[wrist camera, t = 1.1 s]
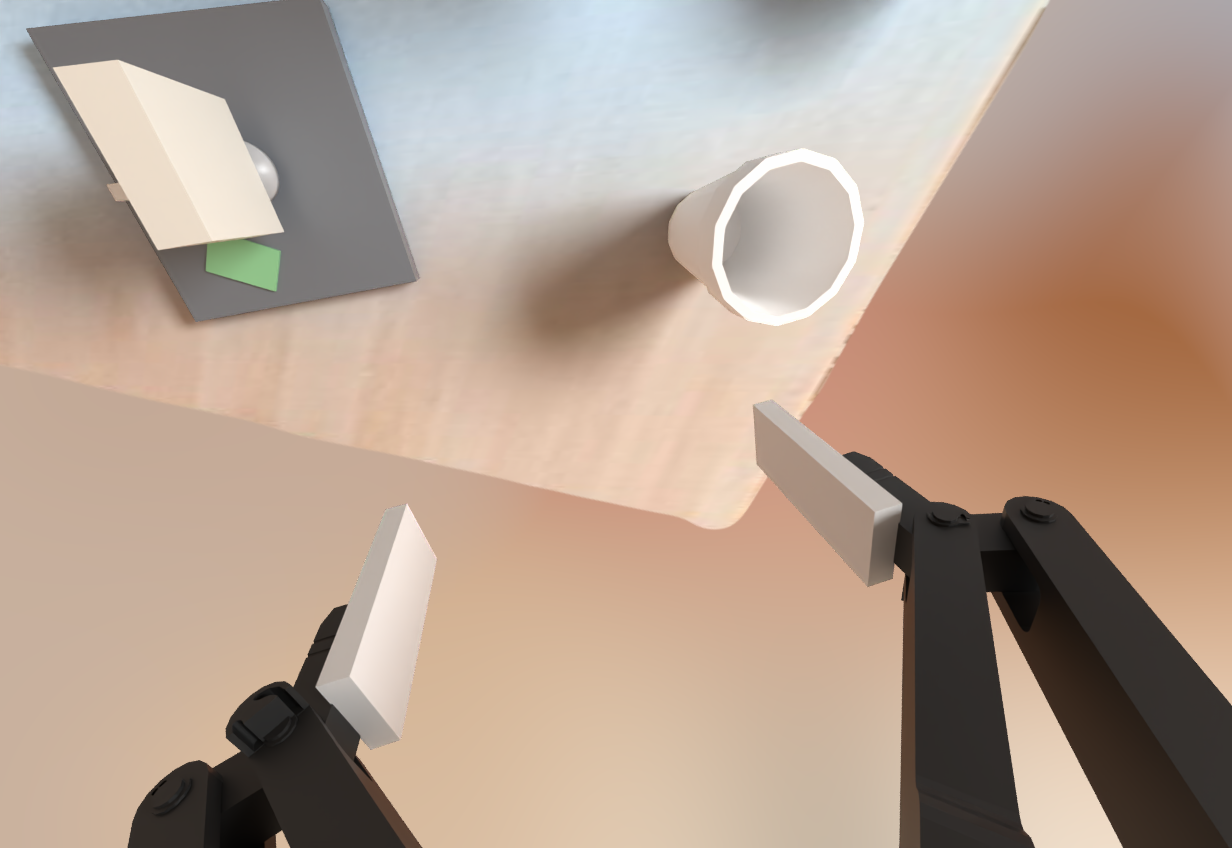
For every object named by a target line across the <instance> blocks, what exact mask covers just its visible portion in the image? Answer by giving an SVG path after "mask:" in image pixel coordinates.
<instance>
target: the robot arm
mask: <svg viewBox="0 0 1232 848" xmlns="http://www.w3.org/2000/svg"><path fill="white" fill-rule="evenodd" d="M753 412H754V428H755V444H756V461H757V465H758V466H759V467H760V468H761V469H762V471H763V472H764V473H765V474H766V475H767V476H768V477H769V478H770V479H771V480H772V481H773V483H774V484H775V485H776V486H777V487H778V488H779V489H780V490H781V492H782V493H783V494H784V495H785V496H786V497H787V498H788V499H789V500H790V502H792V504H793V505H794V506H795V507H796V508H797V509H798V510H799V511H800V513H801V514H802V515H803V516H804V517H805V518H806V519H807V520H808V521H809V523H810V524H811V525H812V526H813V527H814V528H815V529H816V530H817V531H818V533H819V534H820V535H821V536H822V537H823V538H824V539H825V540H826V541H827V542H828V544H829V545H830V546H831V547H832V548H833V549H834V550H835V551H836V552H837V554H838V555H839V556H840V557H841V558H842V559H843V560H844V561H845V562H846V564H847V565H848V566H849V567H850V568H851V569H852V570H853V571H854V572H855V573H856V574H857V576H858V577H859V578H860V579H861V580H862V581H863V582H864V583H865V585H866V586H867V587H869V586H872V585H875V584H878V583H881V582H884V581H887V580H890V579H893V571H894V563H895V564H896V565H897V566H898V567H899V568H900V569H901V570H902V571H903V572H904V573H905V579H904V586H903V592H902V599H901V600H902V601H904V615H903V616H904V617H903V672H902V674H903V675H902V730H901V731H902V732H901V788H900V844H899V848H1035V847H1034V844H1033V842H1032V839H1031V837H1030V836H1029V835H1028V834H1027V833H1026V832H1025V831H1024V830H1023V827H1022V824H1021V820H1020V815H1019V808H1018V803H1017V795H1016V789H1015V782H1014V775H1013V768H1012V762H1011V755H1010V749H1009V742H1008V735H1007V728H1006V721H1005V715H1004V708H1003V701H1002V695H1001V688H1000V682H999V675H998V668H997V662H996V654H995V648H994V641H993V635H992V628H991V621H990V614H989V608H988V601H987V594H986V592H991V593H992V595H993V597H994V599H995V600H996V603H997V604H998V606H999V608H1000V610H1001V612H1002V614H1003V616H1004V618H1005V620H1006V622H1007V624H1008V626H1009V628H1010V630H1011V632H1012V633H1013V635H1014V637H1015V639H1016V641H1017V643H1018V645H1019V647H1020V649H1021V651H1022V653H1023V655H1024V656H1025V659H1026V661H1027V663H1028V664H1029V666H1030V668H1031V670H1032V672H1033V674H1034V676H1035V678H1036V680H1037V682H1038V684H1039V686H1040V688H1041V690H1042V691H1043V693H1044V695H1045V697H1046V699H1047V701H1048V703H1049V705H1050V707H1051V709H1052V711H1053V713H1054V715H1055V717H1056V719H1057V720H1058V723H1059V724H1060V726H1061V728H1062V730H1063V732H1064V734H1065V736H1066V738H1067V740H1068V742H1069V744H1070V746H1071V748H1072V749H1073V751H1074V753H1075V755H1076V757H1077V759H1078V761H1079V763H1080V765H1081V767H1082V769H1083V771H1084V773H1085V775H1086V777H1087V778H1088V781H1089V782H1090V784H1091V786H1092V788H1093V790H1094V792H1095V794H1096V795H1097V798H1098V800H1099V802H1100V804H1101V805H1102V808H1103V810H1104V811H1105V813H1106V815H1107V817H1108V819H1109V821H1110V823H1111V825H1112V827H1113V829H1114V831H1115V832H1116V834H1117V836H1118V839H1119V841H1120V842H1121V844H1122V846H1123V848H1232V706H1231V704H1230V703H1229V702H1228V700H1227V699H1226V698H1225V697H1224V696H1223V694H1222V693H1221V692H1220V691H1219V690H1218V688H1217V687H1216V686H1215V685H1214V684H1213V682H1212V681H1211V680H1210V679H1209V678H1208V677H1207V675H1206V674H1205V673H1204V672H1203V671H1202V669H1201V668H1200V667H1199V666H1198V665H1197V663H1196V662H1195V661H1194V660H1193V659H1192V657H1191V656H1190V655H1189V654H1188V653H1187V651H1186V650H1185V649H1184V648H1183V647H1182V645H1181V644H1180V643H1179V642H1178V641H1177V639H1176V638H1175V637H1174V636H1173V635H1172V633H1171V632H1170V631H1169V630H1168V629H1167V627H1166V626H1165V625H1164V624H1163V623H1162V621H1161V620H1160V619H1159V618H1158V617H1157V616H1156V614H1155V613H1154V612H1153V611H1152V609H1151V608H1150V607H1149V606H1148V605H1147V603H1145V601H1144V600H1143V599H1142V597H1141V596H1140V595H1139V594H1138V593H1137V592H1136V591H1135V589H1134V588H1133V587H1132V586H1131V584H1130V583H1129V582H1128V581H1127V580H1126V578H1125V577H1124V576H1123V575H1122V574H1121V572H1120V571H1119V570H1118V569H1117V568H1116V567H1115V565H1114V564H1113V563H1112V562H1111V561H1110V559H1109V558H1108V557H1107V556H1106V554H1105V553H1104V552H1103V551H1102V550H1101V549H1100V547H1099V546H1098V545H1097V544H1096V542H1095V541H1094V540H1093V539H1092V538H1091V537H1090V536H1089V534H1088V533H1087V532H1086V531H1085V529H1084V528H1083V527H1082V526H1081V525H1080V523H1079V522H1078V521H1077V520H1076V519H1075V517H1074V516H1073V515H1072V514H1071V513H1070V512H1069V511H1068V510H1066V509H1065V508H1064V507H1062V506H1060V505H1058V504H1056V503H1054V502H1052V501H1049V500H1046V499H1042V498H1038V497H1028V496H1023V497H1015V498H1012V499H1010V500H1008V501H1007V503H1006V504H1005V506H1004V510H1003V513H992V514H969V513H968V512H967V511H966V510H964V509H962V508H960V507H958V506H955V505H952V504H948V503H944V502H930V501H928V500H927V499H926V498H924V497H923V496H922V495H920V494H919V493H918V492H916V491H915V490H913V489H912V488H911V487H910V486H908V485H907V484H905V483H904V482H903V481H901V480H900V479H899V478H897V477H896V476H893V474H892V473H891V472H889V471H888V470H887V469H883V467H882V466H881V465H880V464H878V463H877V462H875V461H874V460H873V459H871V458H870V457H867V456H865V455H862V454H859V453H857V452H851V453H847V454H844V455H841V454H840V453H838V452H837V451H836V450H835V449H833V448H832V447H831V446H830V445H828V444H827V443H826V442H825V441H823V440H822V439H821V438H819V437H818V436H817V435H816V434H814V433H813V432H812V431H811V430H809V429H808V428H807V427H806V426H805V425H803V424H802V423H801V422H799V421H798V420H797V419H796V418H794V417H793V416H792V415H791V414H789V413H788V412H787V411H786V410H784V409H783V408H782V407H781V406H779V405H778V404H777V403H776V402H774V401H773V400H768V401H765V402H761V403H758V404H754V405H753ZM436 561H437V558H436V556H435V554H434V552H433V551H432V549H431V547H430V545H429V543H428V542H427V539H426V538H425V536H424V534H423V532H422V530H421V528H420V527H419V525H418V523H417V521H416V519H415V517H414V515H413V513H412V512H411V510H410V508H409V506H408V504H407V503H406V504H403V505H399V506H396V507H393V508H389V509H385V512H384V514H383V517H382V520H381V522H380V524H379V527H378V529H377V532H376V535H375V537H374V540H373V542H372V545H371V547H370V550H369V552H368V555H367V557H366V560H365V562H364V565H363V568H362V570H361V573H360V575H359V578H358V580H357V583H356V585H355V588H354V590H353V593H352V595H351V598H350V601H349V603H348V604H347V605H343V606H340V607H336V608H334V609H333V610H332V611H331V613H330V614H329V615H328V617H327V618H326V619H325V620H324V621H323V623H322V624H321V625H320V628H319V630H318V632H317V634H316V637H315V639H314V644H312V646H311V648H310V650H309V653H308V658H306V660H305V662H304V664H303V666H302V669H301V671H300V673H299V676H298V678H297V680H296V682H295V685H294V687H292V686H291V685H290V684H288V683H286V682H285V681H283V682H274V683H272V684H269V685H267V686H264V687H262V688H261V689H259V690H258V691H256V692H255V693H253V694H252V695H251V696H249V697H248V698H247V699H246V700H245V701H244V702H243V703H242V704H241V705H240V706H239V707H238V708H237V710H236V711H235V712H234V714H233V715H232V716H231V718H230V720H229V723H228V725H227V727H226V738H227V739H228V740H229V741H230V742H231V743H232V744H234V745H235V746H236V747H237V748H238V749H239V750H241V752H239V753H237V754H236V755H234V756H233V757H231V758H229V759H227V760H226V761H224V762H222V763H220V764H219V765H217V766H215V767H214V768H211V767H210V766H209V765H208V764H207V763H205V762H202V761H200V760H198V761H193V762H188V763H186V764H184V765H182V766H181V767H179V768H177V769H175V770H174V771H172V772H171V773H170V774H168V775H167V776H166V777H164V778H163V779H162V780H161V781H160V782H159V783H158V784H157V785H156V786H155V787H154V788H153V789H152V790H151V791H150V792H149V793H148V794H147V796H146V797H145V799H144V800H143V801H142V803H141V804H140V806H139V807H138V809H137V812H136V814H135V817H134V819H133V823H132V827H131V833H130V838H129V843H128V848H276V835H275V834H277V833H278V832H280V831H281V830H282V831H283V833H284V834H285V837H286V839H287V841H288V844H289V846H290V848H422V847H421V845H420V844H419V842H418V841H417V840H416V838H415V837H414V836H413V834H412V833H411V831H410V830H409V828H408V827H407V826H406V824H405V823H404V821H403V820H402V819H401V817H400V816H399V814H398V813H397V811H396V810H395V808H394V807H393V806H392V804H391V803H390V801H389V800H388V799H387V797H386V796H385V794H384V793H383V791H382V790H381V789H380V787H379V786H378V784H377V783H376V782H375V780H374V779H373V777H372V776H371V774H370V773H369V772H368V770H367V769H366V767H365V766H364V764H363V763H362V762H361V761H360V759H359V758H358V757H357V756H356V751H357V748H358V744H359V740H360V738H361V739H362V740H363V741H364V743H365V744H366V745H367V746H368V747H369V748H370V750H372V749H375V748H378V747H381V746H384V745H387V744H390V743H393V742H396V741H399V740H401V736H402V731H403V725H404V721H405V716H406V711H407V706H408V701H409V696H410V691H411V686H412V681H413V676H414V671H415V666H416V661H417V656H418V651H419V646H420V641H421V636H422V631H423V626H424V621H425V616H426V611H427V606H428V601H429V596H430V591H431V586H432V581H433V576H434V571H435V566H436Z"/></svg>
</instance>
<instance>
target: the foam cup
mask: <svg viewBox="0 0 1232 848" xmlns="http://www.w3.org/2000/svg"><path fill="white" fill-rule="evenodd" d="M863 226H864V219H863V214H862V208H861V203H860V197H859V192H858V186H857V185H856V184H855V182H854V181H853V180H852V178H851V177H850V176H849V175H848V173H847V172H846V171H845V170H844V168H843V167H842V166H841V164H840V163H839V162H838V161H837V159H835V158H832V157H829V156H826V155H823V154H820V153H817V152H813V151H810V150H807V149H804V148H802V149H796V150H791V151H786V152H780V153H777V154H773V155H769V156H765V157H762V158H758V159H754V160H750V161H747V162H745V163H744V164H743V165H742V166H741V167H739V168H738V169H737V170H736V171H734V172H732V173H730V174H728V175H726V176H724V177H722V178H720V179H718V180H716V181H714V182H712V183H710V184H708V185H706V186H704V187H702V188H700V189H698V190H696V191H693V192H692V193H690V194H689V195H688V196H687V197H686V198H685V199H683V200H682V201H681V202H680V203H679V204H678V205H677V206H676V208H675V210H674V212H673V215H672V217H671V219H670V221H669V225H668V244H669V246H670V249H671V251H672V254H673V256H674V258H675V259H676V260H677V261H678V262H679V263H680V264H681V265H682V266H683V267H684V268H686V269H687V270H688V271H689V272H690V273H691V274H692V275H694V276H695V277H696V278H697V279H698V280H699V281H700V282H701V283H703V284H704V285H705V286H706V287H707V290H708V293H709V294H711V295H712V296H713V297H714V298H715V299H716V300H717V301H718V302H720V303H721V304H722V305H723V306H724V307H725V308H726V309H728V310H729V311H730V312H731V313H733V314H735V315H737V316H739V317H741V318H743V319H745V320H748V321H753V322H758V323H763V324H768V325H774V326H779V325H783V324H786V323H789V322H793V321H796V320H799V319H803V318H806V317H809V316H810V315H811V314H812V313H814V312H815V311H816V310H817V309H819V308H820V307H821V306H822V305H823V304H825V303H826V302H827V301H828V300H830V299H831V298H832V297H833V296H834V295H836V294H837V292H838V290H839V289H840V287H841V285H842V284H843V282H844V280H845V279H846V277H847V275H848V274H849V272H850V270H851V269H852V267H853V265H854V264H855V262H856V259H857V255H858V250H859V245H860V240H861V235H862V231H863Z"/></svg>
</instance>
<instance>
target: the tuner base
mask: <svg viewBox="0 0 1232 848" xmlns="http://www.w3.org/2000/svg"><path fill="white" fill-rule="evenodd" d="M26 30H27V32H28V33H29V35H30V37H31V38H32V40H33V42H34V44H35V45H36V47H37V49H38V50H39V52H40V54H41V56H42V57H43V59H44V61H45V63H46V64H47V66H48V68H49V69H50V71H51V73H52V75H53V76H54V78H55V80H56V82H57V83H58V85H59V87H60V88H61V90H62V92H63V94H64V95H65V97H66V99H67V100H68V102H69V104H70V106H71V107H72V109H73V111H74V113H75V114H76V116H77V118H78V119H79V121H80V123H81V125H82V126H83V128H84V130H85V132H86V133H87V135H88V137H89V138H90V140H91V142H92V144H93V145H94V147H95V149H96V151H97V152H98V154H99V156H100V157H101V159H102V161H103V163H104V164H105V166H106V168H107V169H108V171H109V173H110V175H111V176H112V178H113V180H114V182H115V183H119V182H118V180H117V179H116V177H115V175H114V173H113V172H112V170H111V168H110V166H109V165H108V163H107V161H106V159H105V158H104V156H103V154H102V153H101V151H100V149H99V147H98V146H97V144H96V142H95V140H94V139H93V137H92V135H91V133H90V132H89V130H88V128H87V126H86V125H85V123H84V121H83V120H82V118H81V116H80V114H79V113H78V111H77V109H76V107H75V106H74V104H73V102H72V100H71V99H70V97H69V95H68V94H67V92H66V90H65V88H64V87H63V85H62V83H61V81H60V80H59V78H58V76H57V74H56V73H55V71H54V69H53V67H61V66H69V65H78V64H86V63H94V62H103V61H111V60H120V61H123V62H125V63H128V64H131V65H134V66H136V67H139V68H142V69H144V70H147V71H150V72H153V73H155V74H158V75H161V76H163V77H166V78H169V79H172V80H174V81H177V82H180V83H182V84H185V85H188V86H191V87H193V88H196V89H199V90H201V91H204V92H207V93H209V94H212V95H215V96H218V97H220V98H223V99H225V101H226V103H227V105H228V107H229V110H230V112H231V114H232V116H233V119H234V121H235V123H236V125H237V128H238V130H239V132H240V134H241V136H242V139H243V141H245V142H248V143H250V144H253V145H255V146H256V147H258V148H259V149H261V150H262V151H263V152H264V153H265V154H266V155H267V156H268V157H269V158H270V159H271V160H272V162H273V163H274V165H275V167H276V169H277V172H278V175H279V181H280V186H279V191H278V194H277V195H276V197H275V198H274V199H273V200H272V201H271V203H272V206H273V208H274V210H275V212H276V214H277V217H278V219H279V221H280V223H281V226H282V228H283V230H284V232H282V233H276V234H270V235H264V236H258V237H252V238H246V239H239V240H231V241H224V242H216V243H208V244H201V245H193V246H186V247H178V248H171V249H163V250H157V248H156V246H155V244H154V243H153V241H152V239H151V238H150V236H149V234H148V232H147V231H146V229H145V227H144V225H143V224H142V222H141V220H140V218H139V217H138V215H137V213H136V211H135V210H134V208H133V206H132V205H131V203H130V201H126V202H127V204H128V206H129V207H130V209H131V211H132V213H133V214H134V216H135V218H136V219H137V221H138V223H139V225H140V226H141V228H142V230H143V232H144V233H145V235H146V237H147V238H148V240H149V242H150V244H151V245H152V247H153V249H154V251H155V252H156V254H157V256H158V257H159V259H160V261H161V263H162V264H163V266H164V268H165V270H166V271H167V273H168V275H169V276H170V278H171V280H172V282H173V283H174V285H175V287H176V288H177V290H178V292H179V294H180V295H181V297H182V299H183V301H184V302H185V304H186V306H187V307H188V309H189V311H190V313H191V314H192V316H193V318H194V320H195V321H196V322H198V321H204V320H209V319H215V318H220V317H225V316H231V315H236V314H242V313H247V312H252V311H258V310H263V309H268V308H274V307H279V306H285V305H290V304H295V303H301V302H306V301H312V300H317V299H322V298H328V297H333V296H338V295H344V294H349V293H355V292H360V291H365V290H371V289H376V288H382V287H387V286H392V285H398V284H403V283H409V282H414V281H417V280H418V279H419V278H420V277H419V274H418V271H417V268H416V266H415V263H414V260H413V257H412V254H411V251H410V248H409V245H408V242H407V239H406V236H405V233H404V230H403V227H402V224H401V221H400V218H399V215H398V212H397V209H396V206H395V203H394V200H393V197H392V194H391V191H390V188H389V185H388V182H387V179H386V177H385V174H384V171H383V168H382V165H381V162H380V159H379V156H378V153H377V150H376V147H375V144H374V141H373V138H372V135H371V132H370V129H369V126H368V123H367V120H366V117H365V114H364V111H363V108H362V105H361V102H360V99H359V96H358V93H357V90H356V88H355V85H354V82H353V79H352V76H351V73H350V70H349V67H348V64H347V61H346V58H345V55H344V52H343V49H342V46H341V43H340V40H339V37H338V34H337V31H336V28H335V25H334V22H333V19H332V16H331V13H330V10H329V7H328V6H327V4H326V3H325V2H324V1H323V0H280V1H271V2H262V3H253V4H244V5H235V6H226V7H217V8H208V9H199V10H190V11H181V12H172V13H163V14H154V15H145V16H136V17H127V18H118V19H109V20H100V21H91V22H82V23H73V24H64V25H55V26H46V27H36V28H27V29H26Z"/></svg>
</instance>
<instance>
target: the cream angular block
mask: <svg viewBox="0 0 1232 848" xmlns="http://www.w3.org/2000/svg"><path fill="white" fill-rule="evenodd" d="M53 69H54V71H55V73H56V74H57V76H58V78H59V80H60V81H61V83H62V85H63V87H64V88H65V90H66V92H67V94H68V95H69V97H70V99H71V100H72V102H73V104H74V106H75V107H76V109H77V111H78V113H79V114H80V116H81V118H82V120H83V121H84V123H85V125H86V126H87V128H88V130H89V132H90V133H91V135H92V137H93V139H94V140H95V142H96V144H97V146H98V147H99V149H100V151H101V153H102V154H103V156H104V158H105V159H106V161H107V163H108V165H109V166H110V168H111V170H112V172H113V173H114V175H115V177H116V179H117V180H118V182H119V183H113V184H107V187H108V189H109V190H110V192H111V194H112V196H113V197H114V199H115V201H117V202H124V201H130V203H131V205H132V206H133V208H134V210H135V211H136V213H137V215H138V217H139V218H140V220H141V222H142V224H143V225H144V227H145V229H146V231H147V232H148V234H149V236H150V238H151V239H152V241H153V243H154V244H155V246H156V248H157V250H163V249H171V248H178V247H186V246H193V245H201V244H208V243H216V242H224V241H231V240H239V239H246V238H252V237H258V236H264V235H270V234H276V233H282V232H284V230H283V228H282V226H281V223H280V221H279V219H278V217H277V214H276V212H275V210H274V208H273V206H272V203H271V201H272V200H273V199H274V198H275V197H276V195H277V194H278V191H279V186H280V181H279V175H278V172H277V169H276V167H275V165H274V163H273V162H272V160H271V159H270V158H269V157H268V156H267V155H266V154H265V153H264V152H263V151H262V150H261V149H259V148H258V147H256V146H255V145H253V144H250V143H248V142H245V141H243V139H242V136H241V134H240V132H239V130H238V128H237V125H236V123H235V121H234V119H233V116H232V114H231V112H230V110H229V107H228V105H227V103H226V101H225V99H223V98H220V97H218V96H215V95H212V94H209V93H207V92H204V91H201V90H199V89H196V88H193V87H191V86H188V85H185V84H182V83H180V82H177V81H174V80H172V79H169V78H166V77H163V76H161V75H158V74H155V73H153V72H150V71H147V70H144V69H142V68H139V67H136V66H134V65H131V64H128V63H125V62H123V61H120V60H111V61H103V62H94V63H86V64H78V65H69V66H61V67H53Z"/></svg>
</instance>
